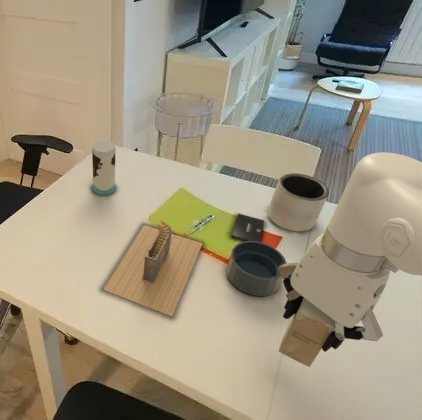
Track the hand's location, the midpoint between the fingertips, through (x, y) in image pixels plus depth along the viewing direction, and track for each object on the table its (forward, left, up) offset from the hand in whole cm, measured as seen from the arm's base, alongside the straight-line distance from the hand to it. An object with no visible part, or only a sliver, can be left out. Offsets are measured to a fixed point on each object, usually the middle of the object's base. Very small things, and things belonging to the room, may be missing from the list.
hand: (309, 329), depth 59 cm
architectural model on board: (+35, +2, -16) cm, 38 cm away
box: (0, 0, -6) cm, 6 cm away
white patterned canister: (+69, -4, -16) cm, 71 cm away
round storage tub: (+20, -15, -16) cm, 29 cm away
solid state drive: (+32, -27, -16) cm, 45 cm away
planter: (+29, -41, -16) cm, 53 cm away
